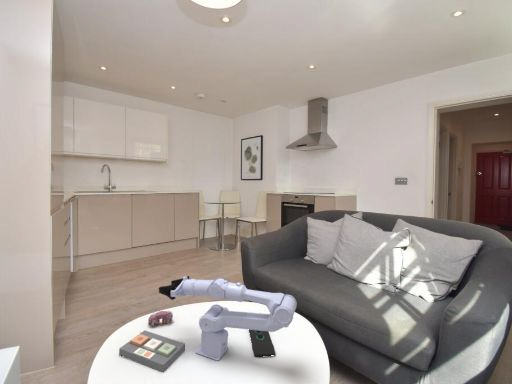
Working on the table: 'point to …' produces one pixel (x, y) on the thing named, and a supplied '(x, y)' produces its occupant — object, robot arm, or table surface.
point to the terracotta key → (140, 340)
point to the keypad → (151, 357)
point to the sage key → (166, 350)
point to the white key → (153, 345)
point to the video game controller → (160, 317)
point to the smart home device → (261, 343)
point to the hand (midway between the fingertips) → (165, 286)
